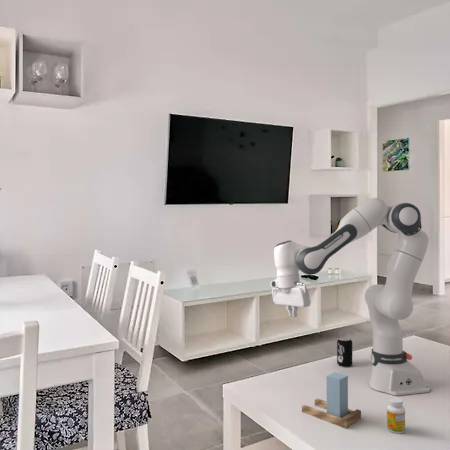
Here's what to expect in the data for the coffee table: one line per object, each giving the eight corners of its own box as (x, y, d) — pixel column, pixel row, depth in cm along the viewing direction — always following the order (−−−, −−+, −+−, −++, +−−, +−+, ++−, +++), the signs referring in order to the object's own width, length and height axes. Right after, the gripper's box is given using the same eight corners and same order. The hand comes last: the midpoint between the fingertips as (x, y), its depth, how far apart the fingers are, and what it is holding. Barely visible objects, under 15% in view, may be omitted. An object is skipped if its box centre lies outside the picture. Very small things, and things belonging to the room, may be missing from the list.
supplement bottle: (384, 426, 151) (384, 396, 151) (400, 425, 152) (400, 395, 151) (391, 434, 146) (391, 403, 145) (408, 433, 146) (408, 402, 146)
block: (326, 417, 158) (326, 375, 157) (335, 412, 161) (334, 372, 160) (339, 421, 154) (339, 379, 153) (347, 416, 158) (347, 375, 157)
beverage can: (352, 367, 205) (352, 340, 204) (337, 367, 206) (337, 340, 206) (351, 362, 211) (351, 336, 211) (336, 362, 213) (336, 335, 212)
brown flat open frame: (301, 411, 163) (301, 403, 162) (317, 403, 169) (317, 395, 169) (346, 428, 150) (346, 419, 150) (361, 419, 156) (361, 410, 156)
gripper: (311, 281, 179) (316, 317, 179) (280, 280, 197) (284, 312, 197) (298, 284, 176) (303, 320, 176) (267, 282, 194) (272, 315, 194)
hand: (293, 316), depth 187 cm, fingers closed
